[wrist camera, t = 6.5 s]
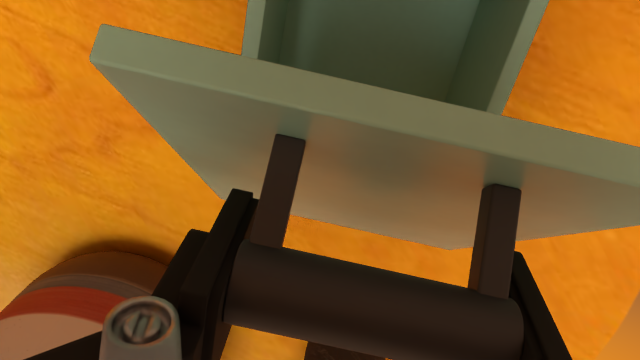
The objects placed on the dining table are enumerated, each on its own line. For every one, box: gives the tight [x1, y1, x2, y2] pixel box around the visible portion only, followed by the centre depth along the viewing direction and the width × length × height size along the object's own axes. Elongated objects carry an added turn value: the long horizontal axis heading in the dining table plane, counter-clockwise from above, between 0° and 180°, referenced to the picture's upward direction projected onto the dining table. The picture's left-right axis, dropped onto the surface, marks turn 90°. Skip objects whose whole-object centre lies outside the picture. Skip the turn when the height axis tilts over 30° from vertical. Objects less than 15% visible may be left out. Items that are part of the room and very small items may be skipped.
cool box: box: [241, 0, 549, 115], centre depth 25 cm, size 16×13×9 cm
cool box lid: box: [90, 24, 640, 360], centre depth 16 cm, size 16×13×5 cm
